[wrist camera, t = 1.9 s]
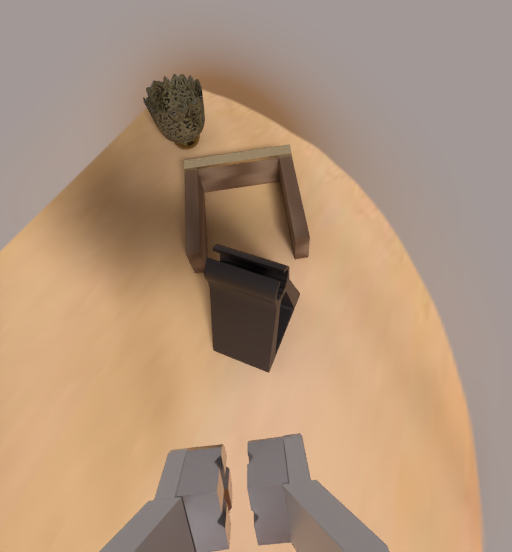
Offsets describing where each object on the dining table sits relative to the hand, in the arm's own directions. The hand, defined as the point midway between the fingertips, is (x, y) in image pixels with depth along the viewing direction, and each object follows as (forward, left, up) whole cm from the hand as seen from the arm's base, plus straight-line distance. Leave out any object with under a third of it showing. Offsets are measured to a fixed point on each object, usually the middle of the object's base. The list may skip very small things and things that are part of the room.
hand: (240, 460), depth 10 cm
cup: (-7, +42, -24) cm, 49 cm away
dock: (0, +26, -23) cm, 35 cm away
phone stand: (0, +13, -24) cm, 27 cm away
